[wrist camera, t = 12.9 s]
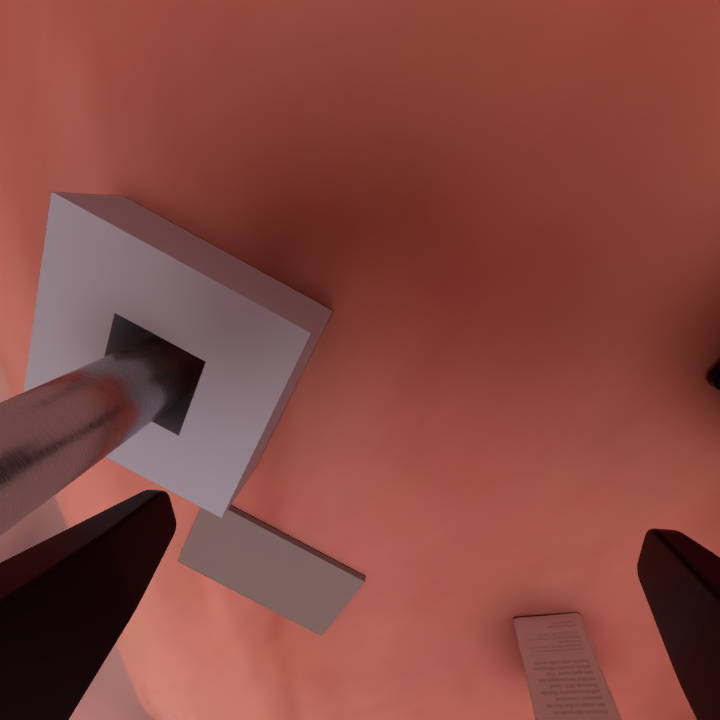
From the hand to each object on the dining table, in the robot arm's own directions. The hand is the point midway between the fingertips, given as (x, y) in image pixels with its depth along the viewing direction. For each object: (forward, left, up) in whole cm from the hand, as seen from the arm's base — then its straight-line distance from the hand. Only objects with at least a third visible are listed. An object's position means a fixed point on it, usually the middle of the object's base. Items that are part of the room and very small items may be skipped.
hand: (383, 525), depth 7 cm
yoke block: (+10, +7, -13) cm, 18 cm away
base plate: (0, +20, -13) cm, 24 cm away
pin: (+10, +7, -13) cm, 18 cm away
